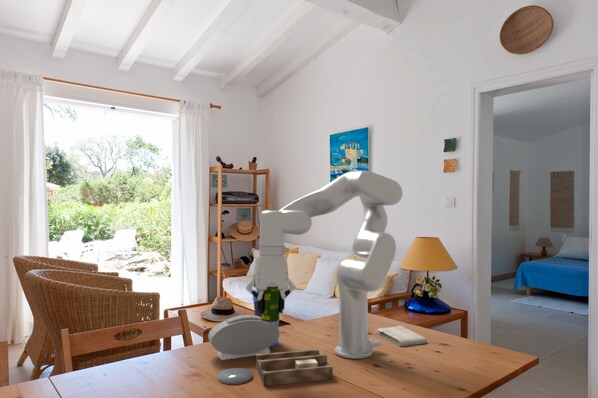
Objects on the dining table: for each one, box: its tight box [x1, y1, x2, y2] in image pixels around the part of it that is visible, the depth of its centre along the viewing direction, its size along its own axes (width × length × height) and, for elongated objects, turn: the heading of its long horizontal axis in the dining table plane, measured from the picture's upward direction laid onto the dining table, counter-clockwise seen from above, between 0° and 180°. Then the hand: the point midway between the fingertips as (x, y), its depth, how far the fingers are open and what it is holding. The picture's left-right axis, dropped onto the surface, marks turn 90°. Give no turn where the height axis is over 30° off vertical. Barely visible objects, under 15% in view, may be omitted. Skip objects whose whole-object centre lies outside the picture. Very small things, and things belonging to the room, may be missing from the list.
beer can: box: [262, 283, 281, 324], centre depth 129 cm, size 5×5×12 cm
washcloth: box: [376, 325, 427, 347], centre depth 163 cm, size 12×18×3 cm, turn 20°
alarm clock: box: [207, 314, 281, 361], centre depth 145 cm, size 23×6×13 cm, turn 113°
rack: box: [255, 348, 333, 387], centre depth 129 cm, size 20×14×5 cm
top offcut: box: [295, 359, 318, 369], centre depth 126 cm, size 6×3×2 cm, turn 102°
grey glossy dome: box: [217, 367, 254, 385], centre depth 126 cm, size 10×10×1 cm
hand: (270, 312), depth 129 cm, fingers closed on beer can, 5 cm apart
